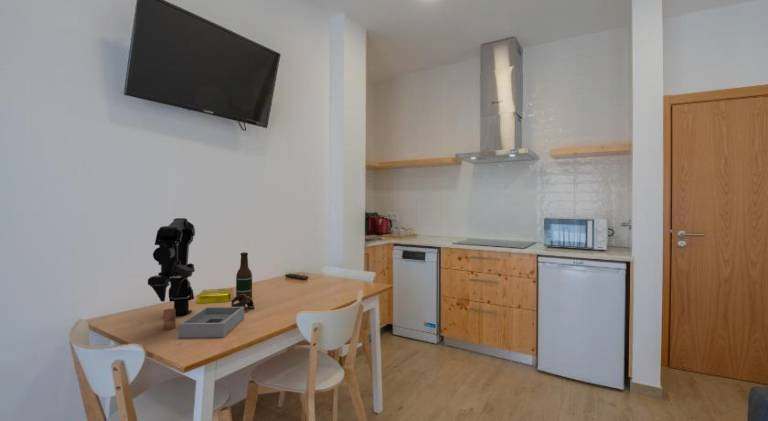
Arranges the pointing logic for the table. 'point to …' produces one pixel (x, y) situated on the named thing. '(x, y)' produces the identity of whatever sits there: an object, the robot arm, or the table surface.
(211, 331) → the socket box
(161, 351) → the table surface
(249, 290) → the beer bottle
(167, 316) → the peg
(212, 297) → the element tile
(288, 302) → the table surface
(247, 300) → the dark brown openwork arch
